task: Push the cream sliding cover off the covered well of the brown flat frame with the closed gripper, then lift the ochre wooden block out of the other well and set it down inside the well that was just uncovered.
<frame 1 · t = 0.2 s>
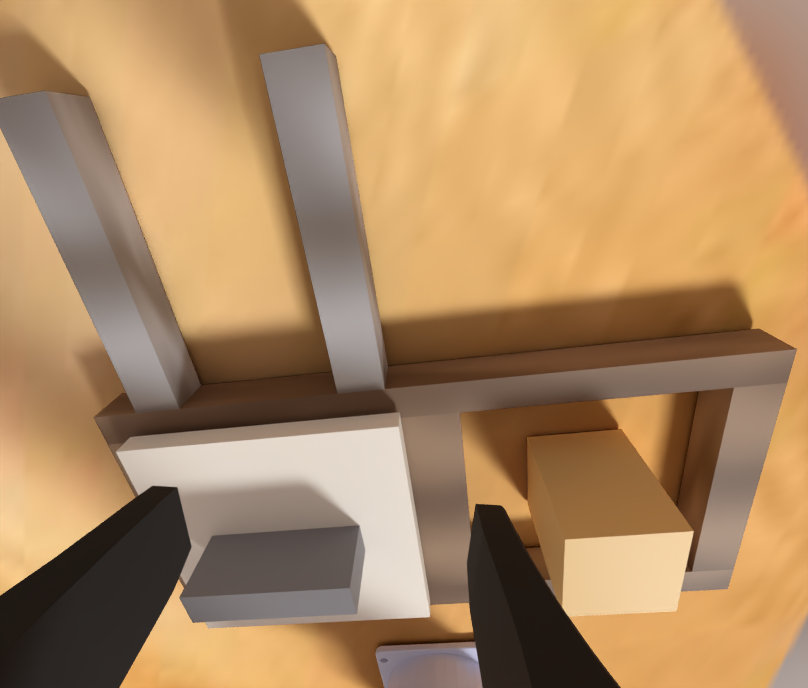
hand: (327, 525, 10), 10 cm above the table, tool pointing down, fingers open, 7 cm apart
brown flat frame: (435, 480, 22), on the table
slide cover: (282, 561, 19), point 4 cm above the table, slide at 0.0 cm
ochre block: (572, 468, 22), resting in brown flat frame
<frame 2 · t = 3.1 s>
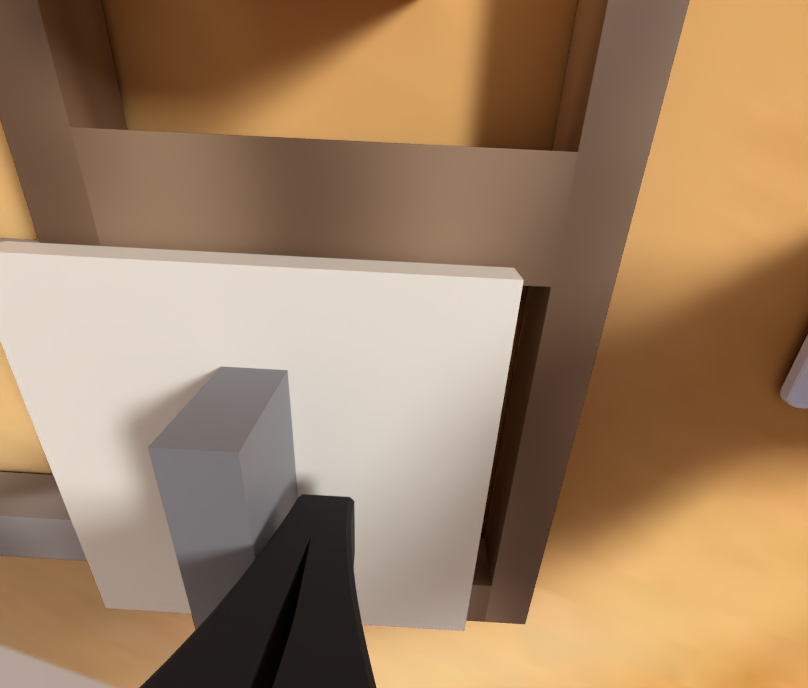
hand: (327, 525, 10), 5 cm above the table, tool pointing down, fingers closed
brown flat frame: (339, 201, 12), on the table
slide cover: (254, 509, 11), point 4 cm above the table, slide at 1.6 cm, touching gripper
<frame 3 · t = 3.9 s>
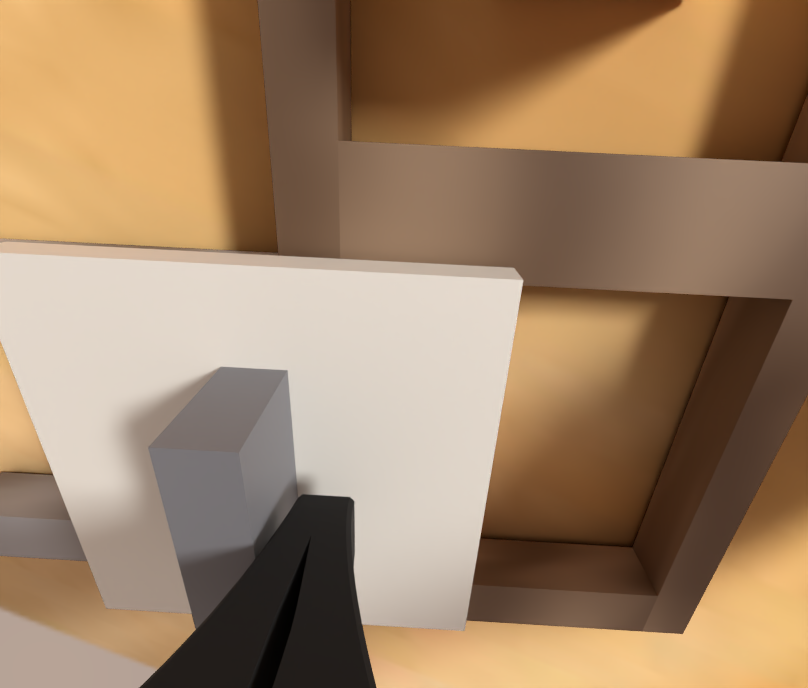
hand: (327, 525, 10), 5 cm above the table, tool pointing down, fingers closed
brown flat frame: (553, 212, 12), on the table
slide cover: (254, 509, 11), point 4 cm above the table, slide at 7.4 cm, touching gripper
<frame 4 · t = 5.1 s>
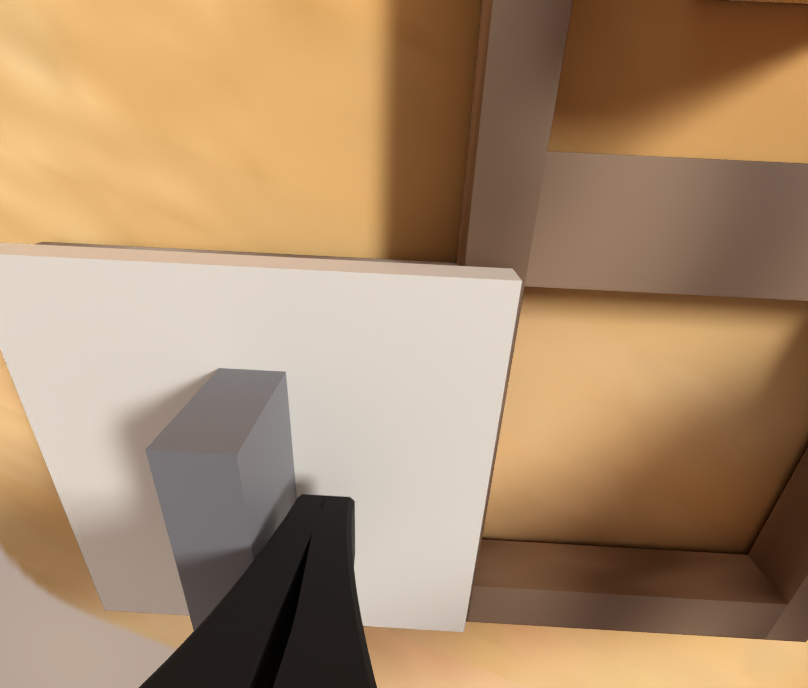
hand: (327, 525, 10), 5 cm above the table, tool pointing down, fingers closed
brown flat frame: (721, 221, 11), on the table
slide cover: (253, 511, 11), point 4 cm above the table, slide at 11.9 cm, touching gripper
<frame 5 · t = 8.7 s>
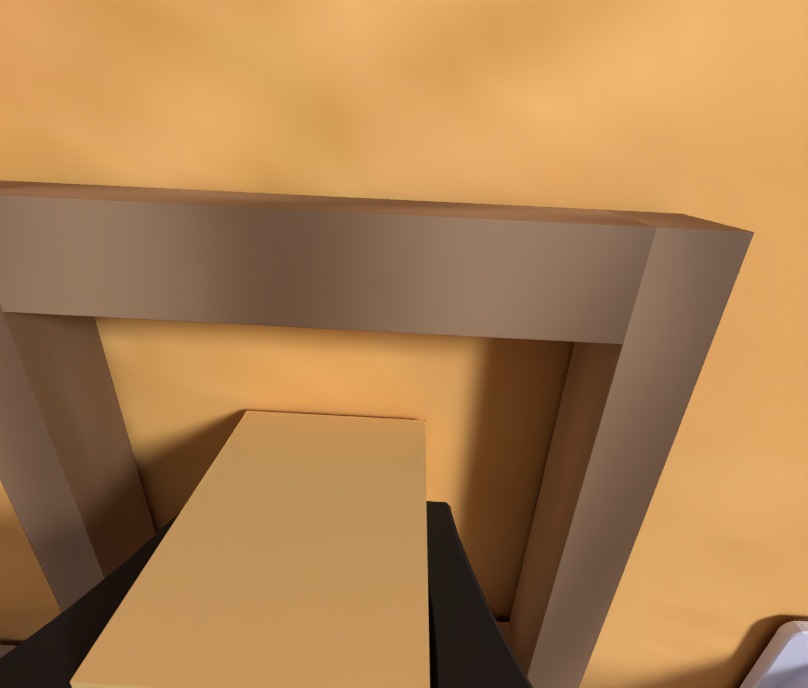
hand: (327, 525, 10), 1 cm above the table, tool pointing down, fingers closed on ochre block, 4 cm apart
brown flat frame: (342, 640, 15), on the table
ochre block: (337, 483, 12), resting in brown flat frame, touching gripper
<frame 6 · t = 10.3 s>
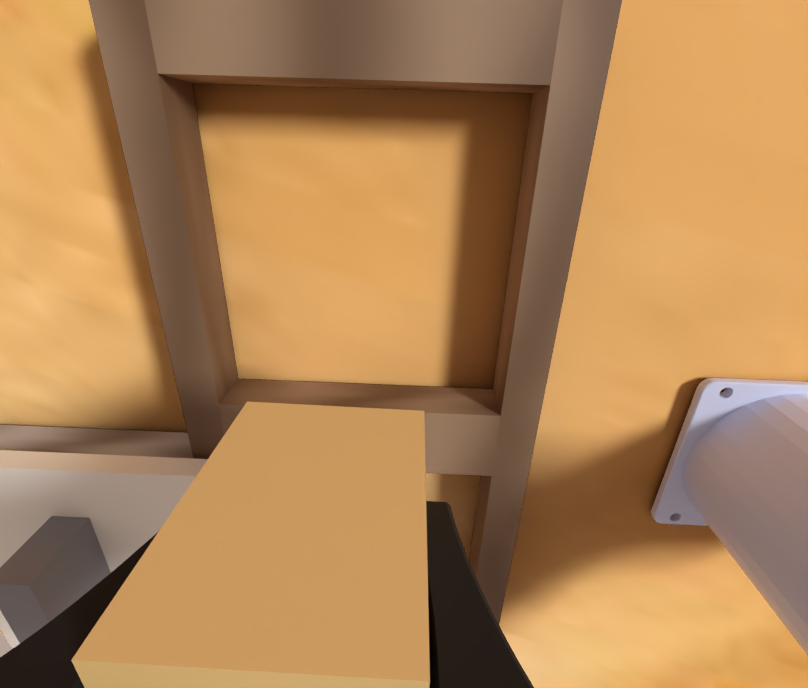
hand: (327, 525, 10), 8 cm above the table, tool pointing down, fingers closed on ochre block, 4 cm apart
brown flat frame: (365, 413, 19), on the table
slide cover: (77, 595, 18), point 4 cm above the table, slide at 11.9 cm
ochre block: (337, 475, 12), point 7 cm above the table, touching gripper
when the fingers open (3 cm above the table, at t = 12.4 s): ochre block drops 1 cm, resting in brown flat frame.
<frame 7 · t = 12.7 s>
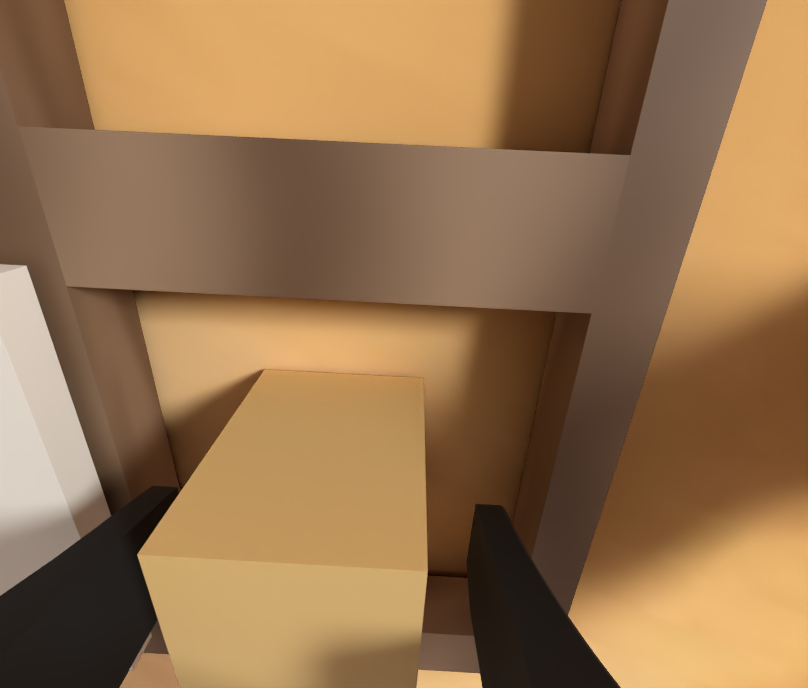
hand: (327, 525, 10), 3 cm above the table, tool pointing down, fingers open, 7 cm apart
brown flat frame: (341, 211, 10), on the table
ochre block: (345, 438, 13), resting in brown flat frame
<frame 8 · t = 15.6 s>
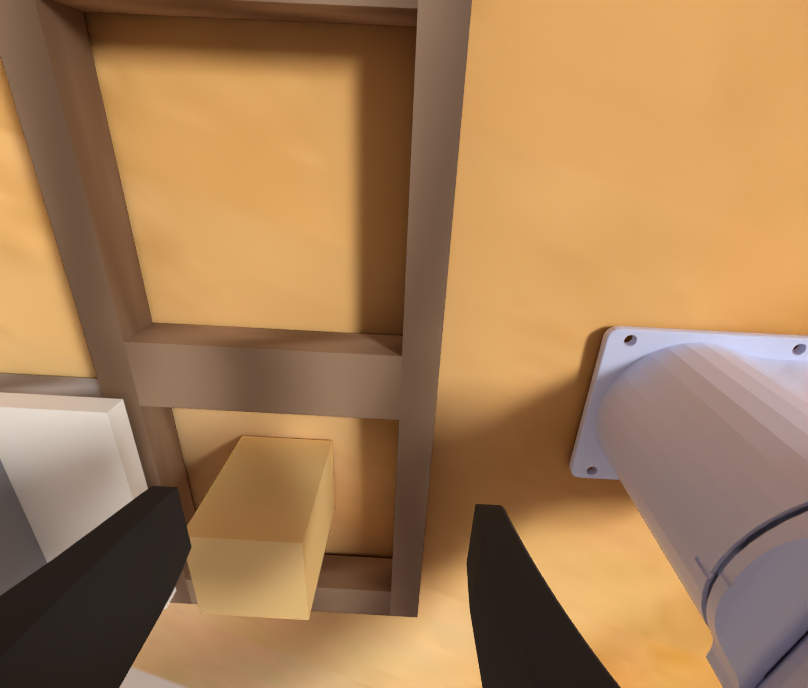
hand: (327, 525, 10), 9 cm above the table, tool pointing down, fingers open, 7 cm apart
brown flat frame: (280, 359, 19), on the table
ochre block: (290, 473, 22), resting in brown flat frame
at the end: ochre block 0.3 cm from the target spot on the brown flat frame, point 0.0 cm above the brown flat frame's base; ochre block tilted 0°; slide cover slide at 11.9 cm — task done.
